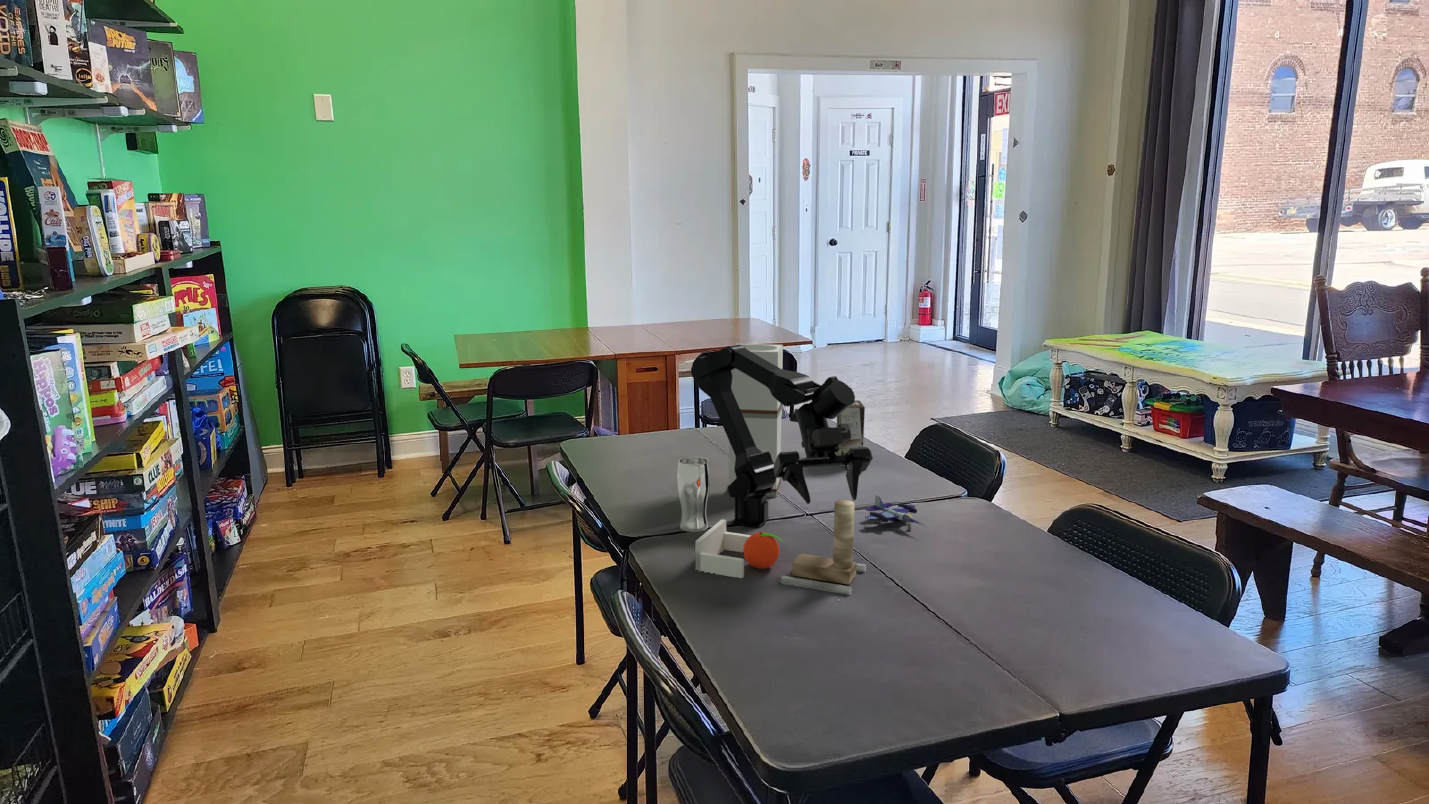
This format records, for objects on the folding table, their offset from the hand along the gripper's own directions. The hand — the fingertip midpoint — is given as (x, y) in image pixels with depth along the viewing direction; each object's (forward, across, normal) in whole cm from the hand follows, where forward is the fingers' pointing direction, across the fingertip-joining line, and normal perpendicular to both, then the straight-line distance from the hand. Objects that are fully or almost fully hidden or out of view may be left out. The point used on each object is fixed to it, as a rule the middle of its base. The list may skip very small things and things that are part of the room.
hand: (832, 501), depth 174 cm
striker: (+12, -3, +6) cm, 14 cm away
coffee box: (-38, +29, +57) cm, 74 cm away
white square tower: (-26, -2, +44) cm, 51 cm away
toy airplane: (-4, +21, +23) cm, 31 cm away
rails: (+13, -3, +6) cm, 14 cm away
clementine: (+8, -13, +11) cm, 19 cm away
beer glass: (-10, -22, +28) cm, 37 cm away
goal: (+5, -18, +13) cm, 23 cm away
